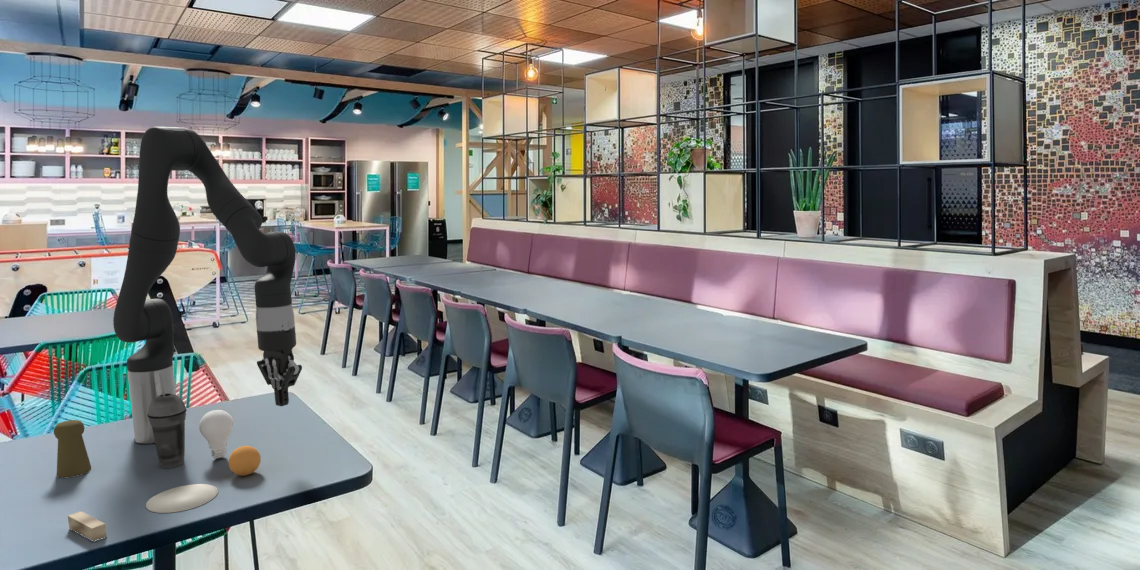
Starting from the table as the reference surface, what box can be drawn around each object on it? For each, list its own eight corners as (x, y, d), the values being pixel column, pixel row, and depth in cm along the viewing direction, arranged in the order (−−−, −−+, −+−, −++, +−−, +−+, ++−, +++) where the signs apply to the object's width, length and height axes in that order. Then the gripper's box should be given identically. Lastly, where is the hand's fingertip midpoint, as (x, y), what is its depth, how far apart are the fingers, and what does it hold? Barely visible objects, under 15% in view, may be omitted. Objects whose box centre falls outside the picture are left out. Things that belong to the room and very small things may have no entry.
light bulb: (222, 465, 148) (217, 416, 146) (195, 463, 149) (190, 414, 148) (242, 454, 154) (238, 406, 153) (216, 452, 155) (212, 405, 154)
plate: (133, 503, 130) (133, 502, 130) (196, 480, 140) (196, 479, 140) (167, 518, 124) (167, 517, 124) (230, 493, 134) (230, 492, 134)
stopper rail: (69, 529, 121) (67, 515, 120) (82, 524, 122) (80, 511, 122) (93, 542, 116) (92, 528, 115) (106, 537, 118) (105, 523, 117)
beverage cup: (164, 473, 144) (154, 380, 141) (145, 466, 148) (136, 375, 145) (198, 461, 150) (190, 372, 147) (179, 455, 154) (171, 368, 151)
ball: (223, 476, 142) (221, 448, 141) (250, 466, 147) (248, 439, 146) (240, 482, 139) (238, 454, 138) (267, 472, 144) (265, 444, 143)
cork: (98, 468, 148) (92, 418, 146) (70, 479, 142) (63, 427, 140) (78, 464, 149) (72, 415, 148) (49, 475, 144) (43, 425, 142)
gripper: (241, 326, 147) (248, 405, 150) (279, 332, 140) (286, 414, 142) (272, 320, 153) (279, 396, 156) (310, 325, 146) (316, 404, 149)
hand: (282, 404), depth 149 cm, fingers closed
